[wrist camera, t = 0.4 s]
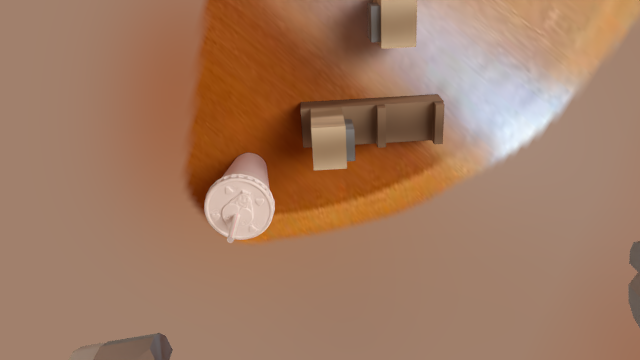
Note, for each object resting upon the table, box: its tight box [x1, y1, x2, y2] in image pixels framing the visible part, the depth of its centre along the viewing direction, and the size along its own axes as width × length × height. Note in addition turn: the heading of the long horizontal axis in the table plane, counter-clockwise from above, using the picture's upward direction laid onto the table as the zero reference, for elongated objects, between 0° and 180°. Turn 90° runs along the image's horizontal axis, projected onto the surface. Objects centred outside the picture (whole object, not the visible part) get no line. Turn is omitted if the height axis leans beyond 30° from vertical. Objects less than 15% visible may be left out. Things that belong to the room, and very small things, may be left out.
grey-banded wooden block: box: [367, 0, 417, 49], centre depth 46 cm, size 4×4×6 cm
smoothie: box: [204, 153, 275, 243], centre depth 49 cm, size 6×6×14 cm
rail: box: [301, 94, 444, 170], centre depth 49 cm, size 4×14×8 cm, turn 93°
